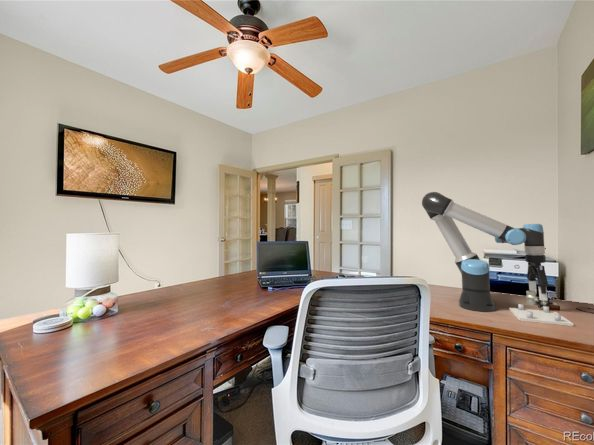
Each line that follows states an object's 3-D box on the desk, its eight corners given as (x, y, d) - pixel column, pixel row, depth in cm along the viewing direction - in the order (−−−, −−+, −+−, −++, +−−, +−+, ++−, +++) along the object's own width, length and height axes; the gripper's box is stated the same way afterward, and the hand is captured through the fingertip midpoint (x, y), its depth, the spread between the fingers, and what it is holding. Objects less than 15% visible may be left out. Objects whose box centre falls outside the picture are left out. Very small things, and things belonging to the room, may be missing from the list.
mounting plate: (519, 320, 113) (519, 312, 113) (509, 309, 127) (509, 302, 127) (573, 326, 105) (573, 317, 105) (556, 314, 119) (555, 306, 119)
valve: (521, 302, 138) (537, 309, 126) (521, 290, 138) (536, 296, 126) (536, 303, 137) (553, 310, 125) (535, 290, 137) (552, 296, 125)
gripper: (555, 257, 118) (559, 304, 118) (535, 252, 141) (538, 291, 140) (534, 257, 122) (537, 302, 121) (517, 252, 144) (520, 290, 143)
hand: (538, 296), depth 131 cm, fingers open, 13 cm apart
